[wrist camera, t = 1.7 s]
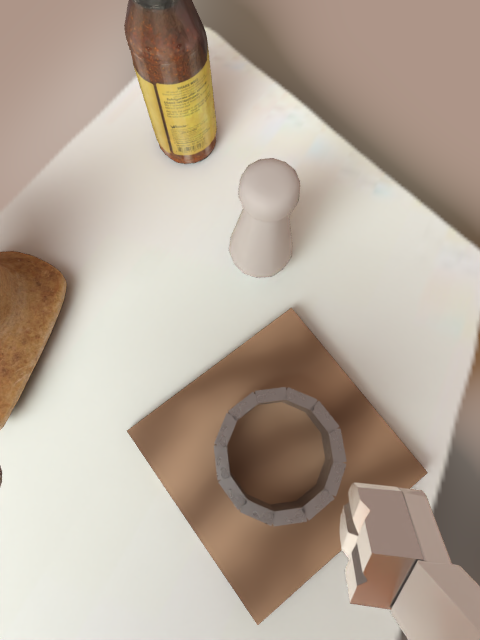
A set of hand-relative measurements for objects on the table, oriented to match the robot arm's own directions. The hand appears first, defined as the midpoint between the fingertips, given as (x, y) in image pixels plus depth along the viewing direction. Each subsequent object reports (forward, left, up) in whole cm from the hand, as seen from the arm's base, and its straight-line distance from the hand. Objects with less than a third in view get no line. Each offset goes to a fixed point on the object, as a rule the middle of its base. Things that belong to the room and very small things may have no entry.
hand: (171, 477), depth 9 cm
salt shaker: (+11, -14, -28) cm, 33 cm away
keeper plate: (-4, -3, -27) cm, 28 cm away
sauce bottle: (+26, -16, -28) cm, 41 cm away
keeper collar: (-4, -3, -27) cm, 28 cm away
